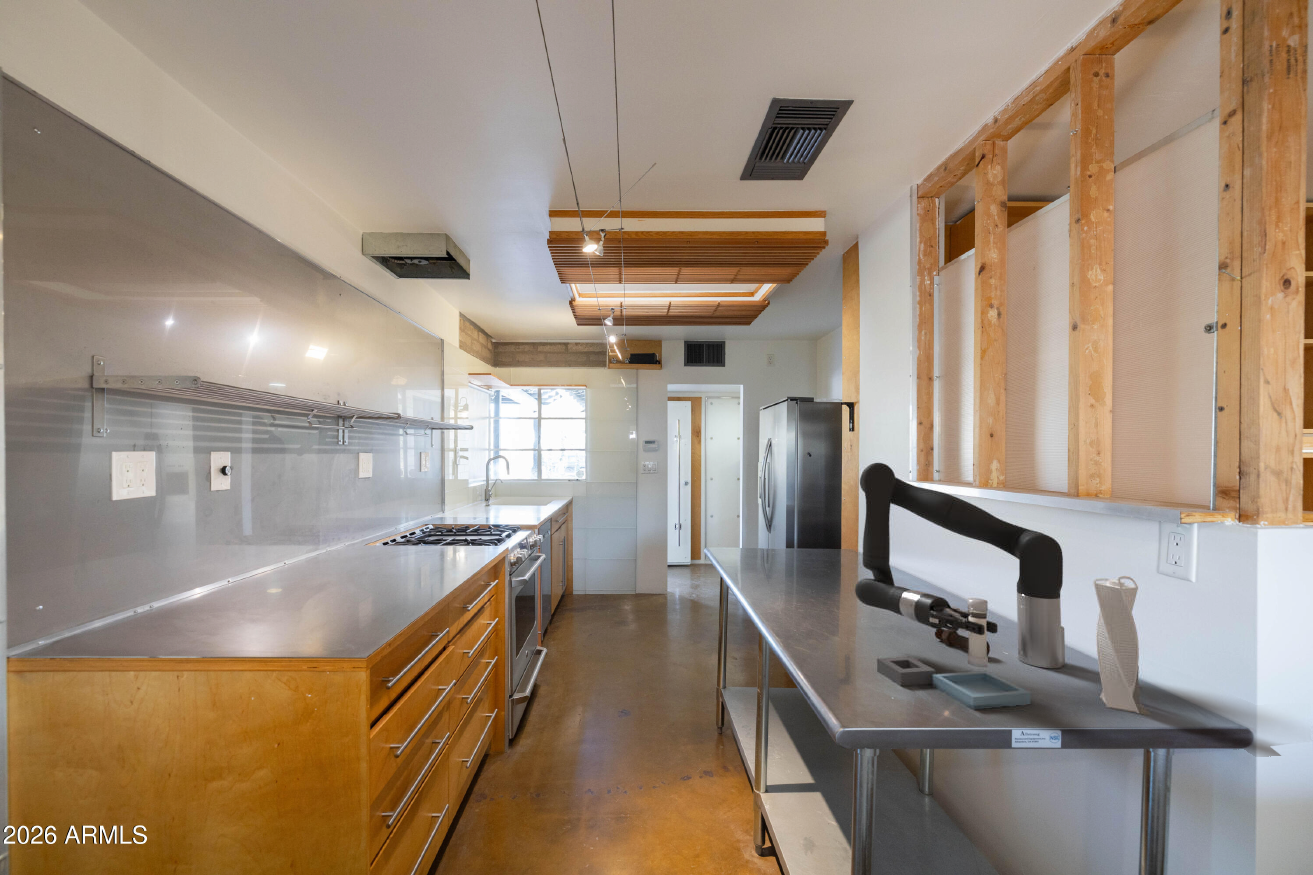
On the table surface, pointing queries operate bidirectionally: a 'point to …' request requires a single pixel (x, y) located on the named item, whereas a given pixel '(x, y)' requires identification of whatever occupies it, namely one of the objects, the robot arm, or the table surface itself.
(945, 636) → the bolt
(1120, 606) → the skyscraper
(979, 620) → the fuse
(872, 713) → the table surface
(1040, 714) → the table surface
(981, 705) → the tray
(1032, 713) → the table surface
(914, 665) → the fuse holder
